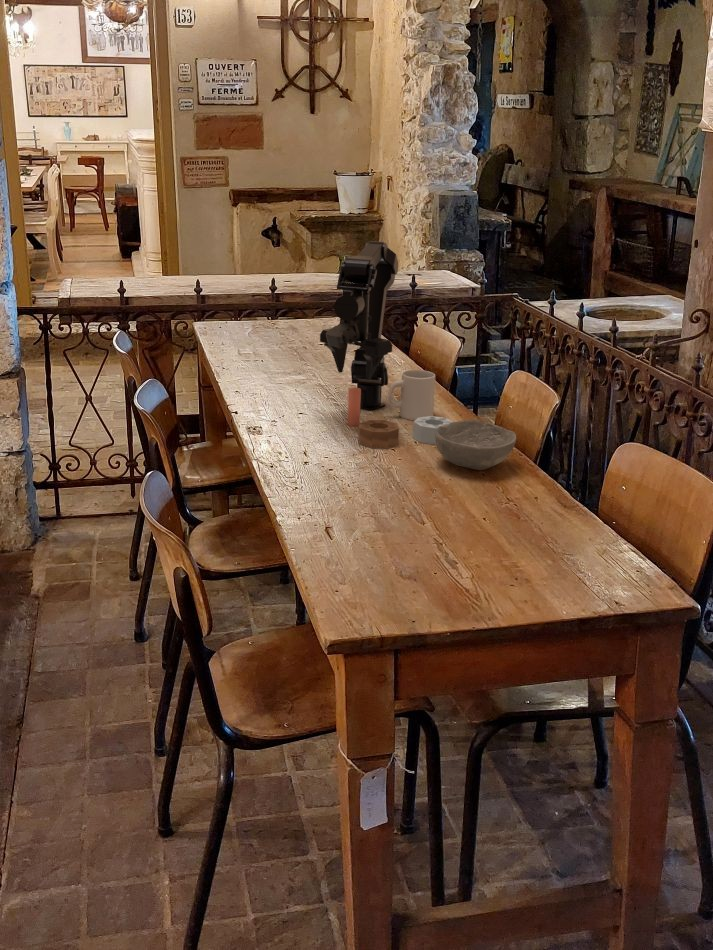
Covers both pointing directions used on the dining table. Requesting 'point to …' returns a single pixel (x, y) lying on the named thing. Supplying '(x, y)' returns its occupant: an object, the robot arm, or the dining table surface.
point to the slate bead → (428, 428)
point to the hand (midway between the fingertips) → (354, 376)
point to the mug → (414, 394)
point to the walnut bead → (378, 434)
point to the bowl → (474, 443)
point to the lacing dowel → (354, 406)
